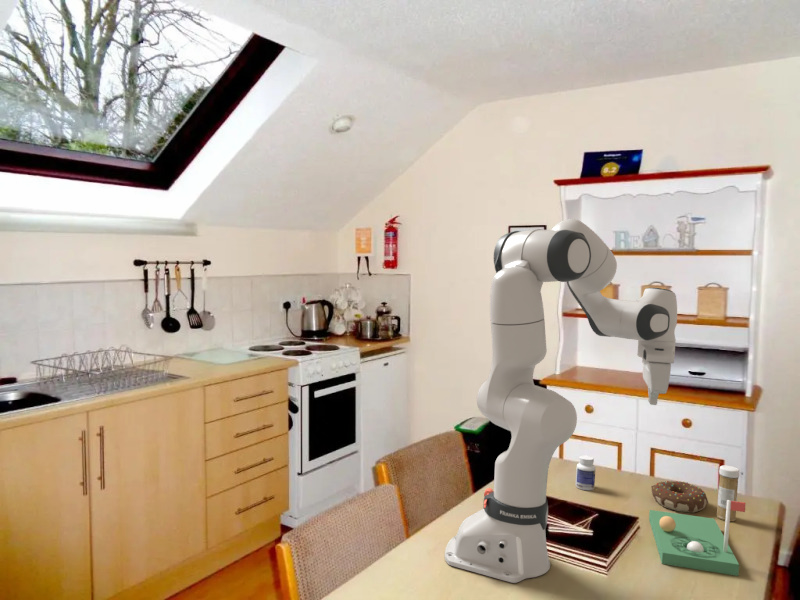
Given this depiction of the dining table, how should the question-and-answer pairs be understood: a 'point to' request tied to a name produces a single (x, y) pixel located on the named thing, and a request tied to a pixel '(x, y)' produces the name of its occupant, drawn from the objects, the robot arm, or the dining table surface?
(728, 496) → the sprinkles bottle
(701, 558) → the putting mat
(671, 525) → the orange ball
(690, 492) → the donut
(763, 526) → the dining table surface
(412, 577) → the dining table surface
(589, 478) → the pill bottle
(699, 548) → the white ball
